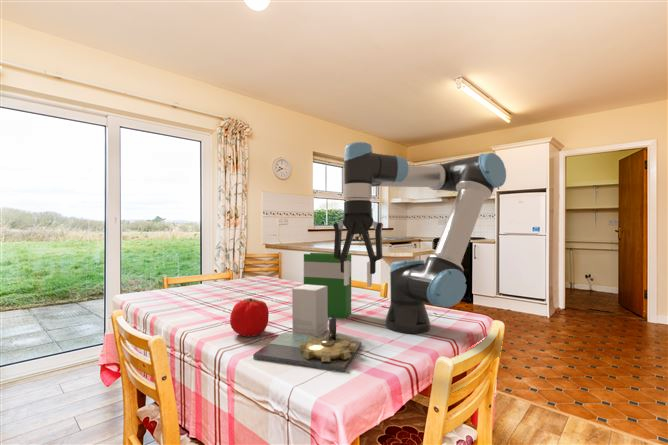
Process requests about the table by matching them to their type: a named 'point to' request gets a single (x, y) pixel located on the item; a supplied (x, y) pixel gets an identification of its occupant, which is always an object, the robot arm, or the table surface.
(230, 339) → the table surface
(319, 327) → the supplement box
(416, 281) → the robot arm
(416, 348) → the table surface
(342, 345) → the sprocket
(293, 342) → the plate
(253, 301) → the tomato
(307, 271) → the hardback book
